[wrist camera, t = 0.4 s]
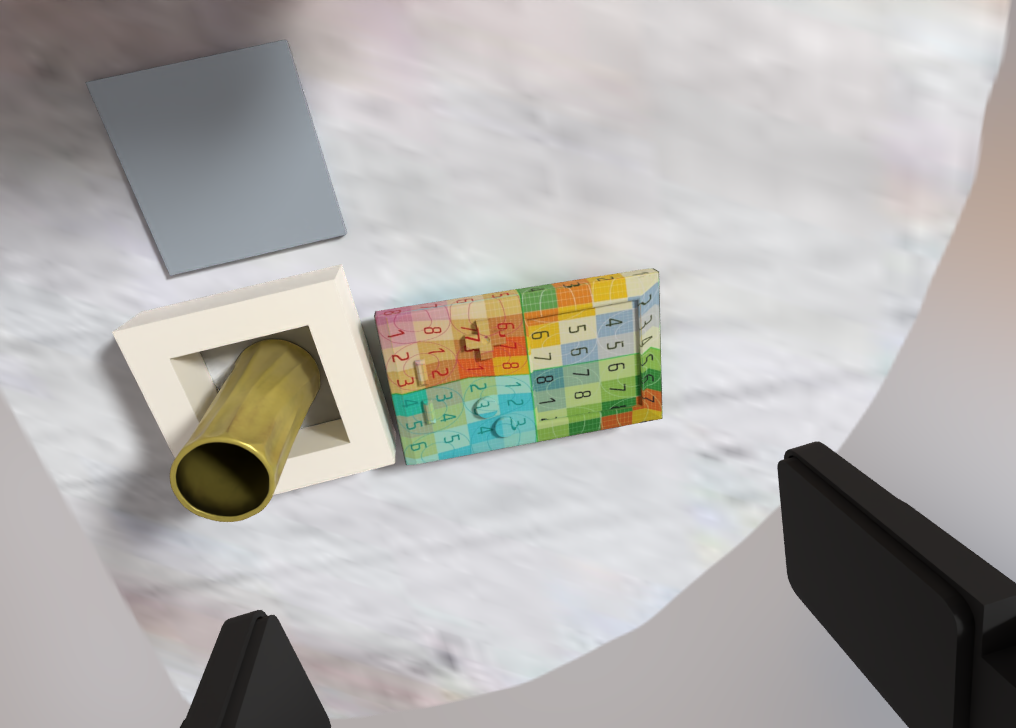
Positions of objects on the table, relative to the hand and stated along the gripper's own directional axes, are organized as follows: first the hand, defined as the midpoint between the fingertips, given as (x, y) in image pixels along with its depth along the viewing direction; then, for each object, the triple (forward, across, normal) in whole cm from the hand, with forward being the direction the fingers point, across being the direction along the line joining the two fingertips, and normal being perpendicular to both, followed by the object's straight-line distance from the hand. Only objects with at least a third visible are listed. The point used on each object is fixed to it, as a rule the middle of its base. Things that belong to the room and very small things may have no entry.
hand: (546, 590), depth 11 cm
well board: (+35, +14, +5) cm, 38 cm away
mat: (+35, +12, -10) cm, 38 cm away
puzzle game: (+36, -3, +9) cm, 37 cm away
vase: (+35, +14, +5) cm, 39 cm away
